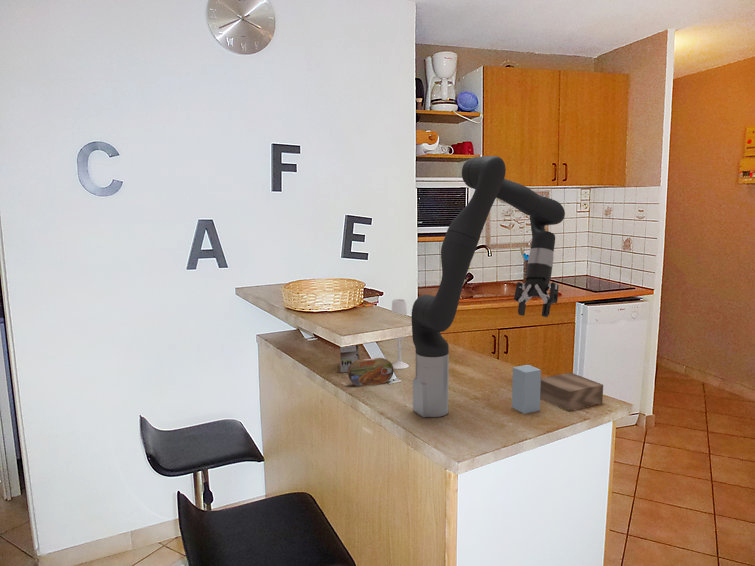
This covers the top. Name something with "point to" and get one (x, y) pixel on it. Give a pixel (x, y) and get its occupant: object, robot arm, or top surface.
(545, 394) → the walnut block
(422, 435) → the top surface
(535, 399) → the slate block
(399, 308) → the champagne flute
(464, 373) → the top surface
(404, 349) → the top surface
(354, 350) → the coffee box
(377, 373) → the tin
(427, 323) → the robot arm
